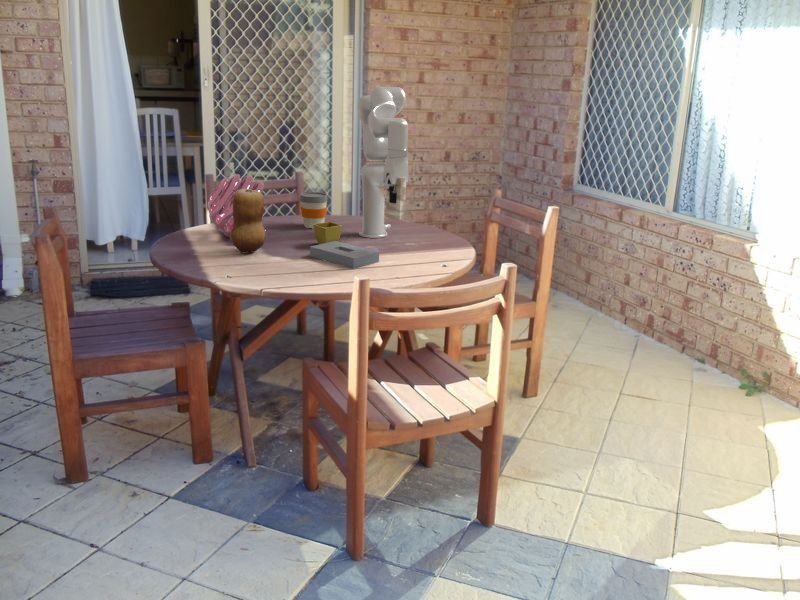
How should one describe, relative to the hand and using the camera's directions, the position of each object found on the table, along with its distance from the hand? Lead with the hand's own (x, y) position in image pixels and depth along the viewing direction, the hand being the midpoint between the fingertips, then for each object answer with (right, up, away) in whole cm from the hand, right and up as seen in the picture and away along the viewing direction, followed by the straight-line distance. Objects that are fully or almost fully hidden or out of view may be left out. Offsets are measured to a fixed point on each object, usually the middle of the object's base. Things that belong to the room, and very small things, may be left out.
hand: (396, 201), depth 282 cm
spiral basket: (-69, -10, +36) cm, 78 cm away
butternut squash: (-59, -19, +12) cm, 63 cm away
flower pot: (-29, -15, +25) cm, 41 cm away
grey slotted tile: (-20, -22, +6) cm, 30 cm away
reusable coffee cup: (-38, -4, +58) cm, 70 cm away
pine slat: (0, -6, +2) cm, 6 cm away
